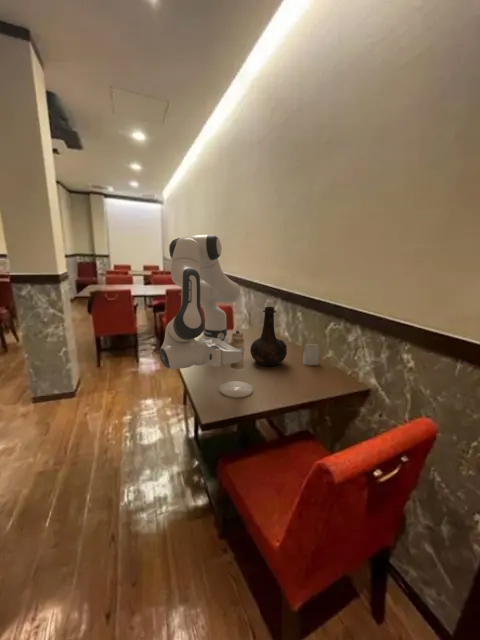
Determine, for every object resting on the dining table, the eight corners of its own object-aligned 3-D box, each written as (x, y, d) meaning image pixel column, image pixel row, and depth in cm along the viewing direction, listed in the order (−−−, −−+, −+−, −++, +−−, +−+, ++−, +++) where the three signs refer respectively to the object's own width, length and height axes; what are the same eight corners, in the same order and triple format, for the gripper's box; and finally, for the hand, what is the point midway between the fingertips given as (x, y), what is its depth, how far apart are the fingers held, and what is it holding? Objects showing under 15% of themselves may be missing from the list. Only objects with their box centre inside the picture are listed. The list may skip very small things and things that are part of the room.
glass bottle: (285, 370, 143) (288, 311, 138) (247, 367, 147) (248, 309, 141) (287, 358, 160) (290, 305, 155) (252, 355, 164) (254, 303, 158)
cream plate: (214, 387, 124) (214, 385, 123) (241, 381, 130) (241, 379, 130) (229, 400, 113) (230, 398, 113) (259, 393, 119) (259, 390, 119)
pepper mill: (227, 365, 120) (228, 329, 117) (238, 363, 123) (239, 328, 120) (234, 369, 116) (235, 332, 113) (245, 367, 119) (246, 331, 116)
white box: (318, 365, 152) (319, 345, 150) (304, 365, 151) (306, 345, 149) (315, 362, 156) (317, 343, 154) (302, 362, 155) (304, 343, 153)
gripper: (194, 352, 121) (226, 347, 128) (219, 369, 103) (253, 362, 111) (194, 336, 119) (226, 332, 126) (219, 350, 102) (254, 345, 109)
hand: (239, 346), depth 118 cm, fingers closed on pepper mill, 5 cm apart
